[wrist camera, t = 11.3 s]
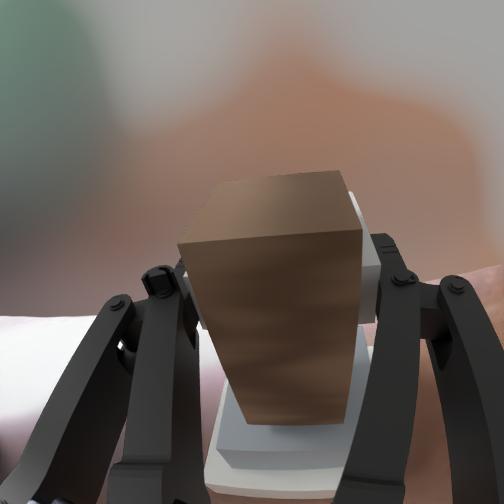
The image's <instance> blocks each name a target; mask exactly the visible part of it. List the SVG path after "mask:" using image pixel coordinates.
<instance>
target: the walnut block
mask: <svg viewBox="0 0 504 504" xmlns="http://www.w3.org/2000/svg"><path fill="white" fill-rule="evenodd" d="M177 245H178V248H179V251H180V255H181V257H182V260H183V263H184V266H185V269H186V272H187V275H188V278H189V281H190V284H191V286H192V289H193V292H194V295H195V297H196V300H197V303H198V306H199V308H200V311H201V314H202V316H203V319H204V322H205V324H206V327H207V330H208V332H209V335H210V337H211V340H212V342H213V345H214V347H215V350H216V352H217V355H218V357H219V360H220V362H221V365H222V367H223V370H224V372H225V374H226V377H227V379H228V382H229V384H230V386H231V389H232V391H233V393H234V396H235V398H236V400H237V403H238V405H239V407H240V409H241V412H242V414H243V416H244V418H245V420H246V423H247V424H249V425H277V426H302V425H330V424H344V419H345V414H346V408H347V403H348V397H349V390H350V384H351V377H352V370H353V363H354V355H355V346H356V337H357V328H358V317H359V305H360V291H361V273H362V247H363V228H362V226H361V223H360V220H359V218H358V215H357V213H356V210H355V207H354V205H353V202H352V200H351V197H350V195H349V193H348V190H347V188H346V185H345V183H344V181H343V178H342V176H341V174H340V171H324V172H311V173H299V174H289V175H278V176H270V177H260V178H251V179H243V180H235V181H228V182H220V183H218V184H217V185H216V187H215V188H214V190H213V192H212V193H211V194H210V196H209V197H208V198H207V200H206V201H205V203H204V204H203V206H202V207H201V209H200V210H199V211H198V213H197V214H196V216H195V217H194V219H193V220H192V222H191V223H190V225H189V226H188V228H187V229H186V231H185V232H184V234H183V236H182V237H181V239H180V240H179V241H178V243H177Z"/></svg>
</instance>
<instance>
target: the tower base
mask: <svg viewBox="0 0 504 504" xmlns="http://www.w3.org/2000/svg"><path fill="white" fill-rule="evenodd" d="M367 349H368V354H369V359H370V364H371V360H372V354H373V346H367ZM227 387H228V379H227V377H226V379H225V383H224V387H223V392H222V396H221V400H220V404H219V409H218V413H217V417H216V421H215V426H214V430H213V434H212V438H211V442H210V447H209V451H208V455H207V459H206V463H205V468H204V481H205V486H207V487H208V488H210V489H211V490H213V491H214V492H215V493H222V494H230V495H238V496H248V497H260V498H277V499H324V498H334V495H335V492H336V490H337V487H338V484H339V481H340V478H341V476H342V473H343V470H344V467H336V468H324V469H306V470H255V469H237V468H231V467H230V465H229V464H228V463H227V462H226V461H225V459H224V458H223V457H222V456H221V455H220V453H219V452H218V451H217V450H216V445H217V439H218V434H219V429H220V424H221V418H222V413H223V408H224V402H225V397H226V392H227Z"/></svg>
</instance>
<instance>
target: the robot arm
mask: <svg viewBox="0 0 504 504" xmlns="http://www.w3.org/2000/svg"><path fill="white" fill-rule="evenodd" d="M348 193H349V195H350V197H351V200H352V202H353V205H354V207H355V210H356V213H357V215H358V218H359V220H360V223H361V226H362V228H363V247H362V273H361V291H360V305H359V317H358V324H367V323H375V316H377V320H378V324H377V330H376V336H375V342H374V348H373V354H372V360H371V365H370V370H369V375H368V380H367V385H366V389H365V394H364V398H363V402H362V406H361V411H360V415H359V418H358V422H357V426H356V430H355V433H354V437H353V440H352V444H351V447H350V451H349V454H348V457H347V460H346V463H345V467H344V470H343V473H342V476H341V478H340V481H339V484H338V487H337V490H336V492H335V495H334V498H333V500H332V503H331V504H403V500H404V495H405V484H404V473H405V468H406V464H407V459H408V454H409V448H410V442H411V437H412V430H413V423H414V416H415V408H416V399H417V389H418V376H419V359H420V338H421V339H425V340H426V344H427V347H428V351H429V355H430V359H431V363H432V367H433V371H434V375H435V379H436V383H437V388H438V392H439V397H440V402H441V407H442V413H443V418H444V424H445V430H446V436H447V443H448V451H449V459H450V469H451V480H452V495H453V504H504V350H503V348H502V345H501V343H500V341H499V339H498V336H497V334H496V332H495V330H494V328H493V326H492V323H491V321H490V319H489V317H488V315H487V313H486V311H485V309H484V307H483V305H482V303H481V301H480V300H479V298H478V296H477V294H476V292H475V290H474V288H473V287H472V285H471V284H470V283H469V281H468V280H466V279H464V278H463V277H460V276H456V275H450V276H446V277H444V278H443V279H441V282H440V285H432V284H426V283H422V282H419V279H418V277H417V275H416V274H414V273H413V272H411V271H409V270H407V268H406V266H405V263H404V261H403V259H402V257H401V255H400V253H399V250H398V248H397V247H396V244H395V242H394V240H393V239H392V238H391V237H390V236H388V235H387V234H386V233H381V234H369V231H368V229H367V226H366V224H365V221H364V219H363V217H362V214H361V212H360V209H359V207H358V205H357V202H356V200H355V197H354V195H353V193H352V192H348ZM141 280H142V282H143V284H144V286H145V289H146V291H147V293H148V295H149V297H148V299H146V300H142V301H137V302H134V303H133V301H132V299H131V297H130V296H128V295H126V294H125V295H124V294H121V295H117V296H114V297H112V298H111V299H110V300H108V301H107V302H106V303H105V305H104V306H103V308H102V309H101V311H100V312H99V314H98V315H97V317H96V318H95V320H94V322H93V323H92V325H91V326H90V328H89V330H88V331H87V333H86V335H85V336H84V338H83V339H82V341H81V343H80V344H79V346H78V348H77V349H76V351H75V353H74V355H73V356H72V358H71V360H70V361H69V363H68V365H67V367H66V368H65V370H64V372H63V374H62V376H61V377H60V379H59V381H58V383H57V385H56V387H55V388H54V390H53V392H52V394H51V396H50V398H49V400H48V402H47V404H46V406H45V407H44V409H43V411H42V413H41V415H40V417H39V419H38V422H37V424H36V426H35V428H34V430H33V432H32V434H31V436H30V438H29V441H28V443H27V445H26V447H25V450H24V452H23V454H22V456H21V459H20V461H19V463H18V464H17V465H16V467H15V468H14V469H13V470H12V472H11V473H10V474H9V475H8V477H7V478H6V479H5V480H4V481H3V483H2V484H1V485H0V504H96V502H97V500H98V497H99V495H100V492H101V489H102V486H103V483H104V480H105V477H106V474H107V471H108V468H109V465H110V462H111V459H112V456H113V453H114V451H115V448H116V445H117V442H118V440H119V437H120V434H121V431H122V429H123V426H124V423H125V421H126V418H127V422H126V431H125V440H124V450H123V457H122V460H121V461H120V462H118V463H116V464H114V465H113V466H112V468H111V469H110V473H109V480H108V494H107V504H211V500H210V497H209V494H208V492H207V490H206V487H205V481H204V467H203V451H202V432H201V408H200V372H199V334H198V331H197V329H196V327H197V324H198V321H200V324H201V326H202V329H206V330H207V327H206V324H205V322H204V319H203V316H202V314H201V311H200V308H199V306H198V303H197V300H196V297H195V295H194V292H193V289H192V286H191V284H190V281H189V278H188V275H187V272H186V269H185V266H184V263H183V260H182V257H181V259H180V260H179V263H177V265H176V268H175V269H174V270H173V268H172V267H170V266H167V265H163V266H158V267H154V268H152V269H150V270H148V271H147V272H146V273H145V274H144V275H143V276H142V278H141ZM120 341H121V343H122V344H123V346H122V348H121V349H119V348H118V347H117V346H118V344H119V342H120Z"/></svg>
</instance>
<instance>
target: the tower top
mask: <svg viewBox="0 0 504 504" xmlns="http://www.w3.org/2000/svg"><path fill="white" fill-rule="evenodd" d="M370 365H371V364H370V359H369V354H368V349H367V344H366V339H365V335H364V330H363V326H358V328H357V337H356V346H355V355H354V363H353V370H352V377H351V384H350V390H349V397H348V403H347V408H346V414H345V419H344V424H330V425H302V426H277V425H249V424H247V423H246V420H245V418H244V416H243V414H242V412H241V409H240V407H239V405H238V403H237V400H236V398H235V396H234V393H233V391H232V389H231V386H230V384H229V382H228V387H227V392H226V397H225V402H224V408H223V413H222V418H221V424H220V429H219V434H218V439H217V445H216V450H217V451H218V452H219V453H220V455H221V456H222V457H223V458H224V459H225V461H226V462H227V463H228V464H229V465H230V467H231V468H237V469H255V470H306V469H324V468H336V467H345V463H346V460H347V457H348V454H349V451H350V447H351V444H352V440H353V437H354V433H355V430H356V426H357V422H358V418H359V415H360V411H361V406H362V402H363V398H364V394H365V389H366V385H367V380H368V375H369V370H370Z"/></svg>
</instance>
